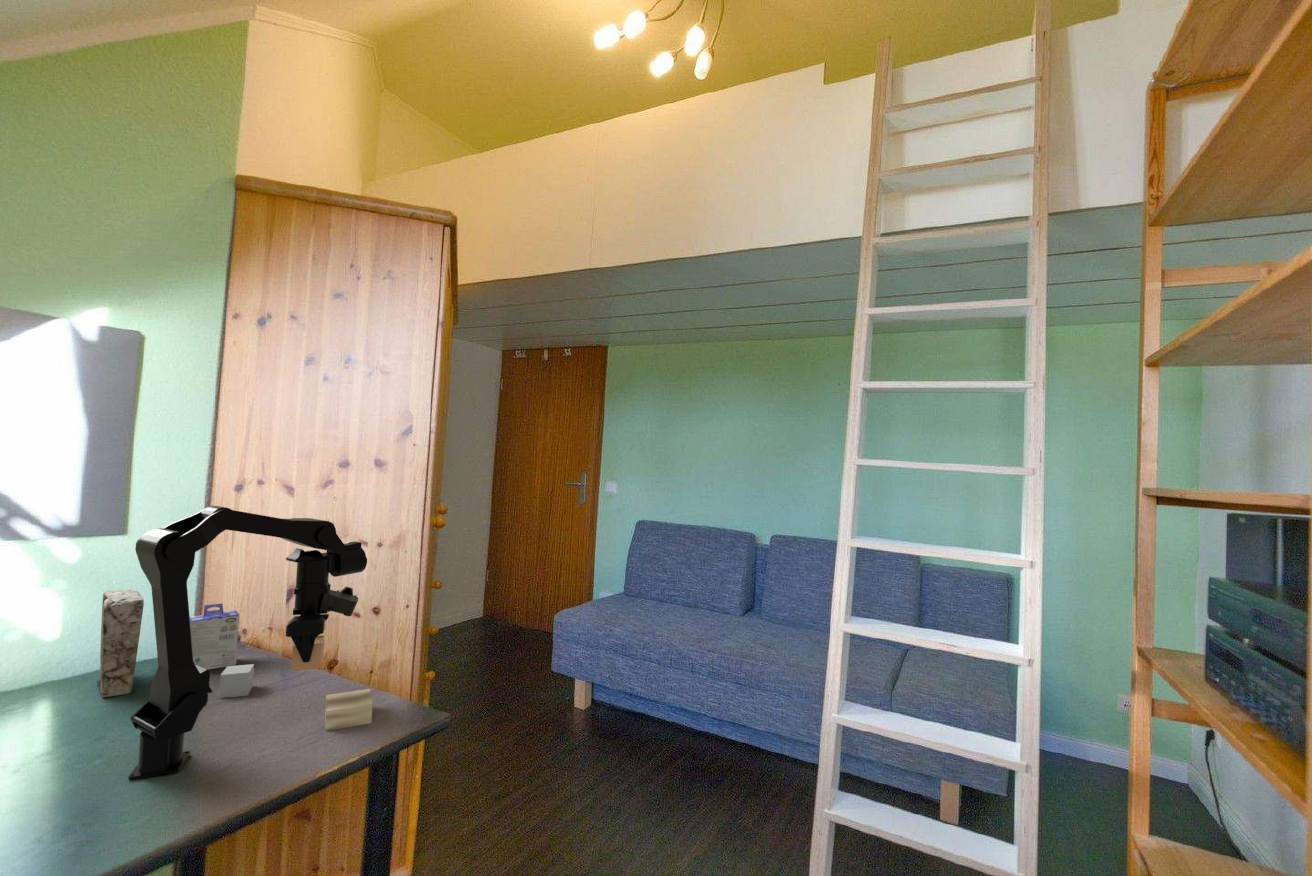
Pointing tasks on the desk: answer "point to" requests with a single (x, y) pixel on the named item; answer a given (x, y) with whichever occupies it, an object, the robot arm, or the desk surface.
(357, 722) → the birch block
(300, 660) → the tan cube
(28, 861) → the desk surface
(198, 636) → the ink cartridge box
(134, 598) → the stone block
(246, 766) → the desk surface
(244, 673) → the light grey cube
